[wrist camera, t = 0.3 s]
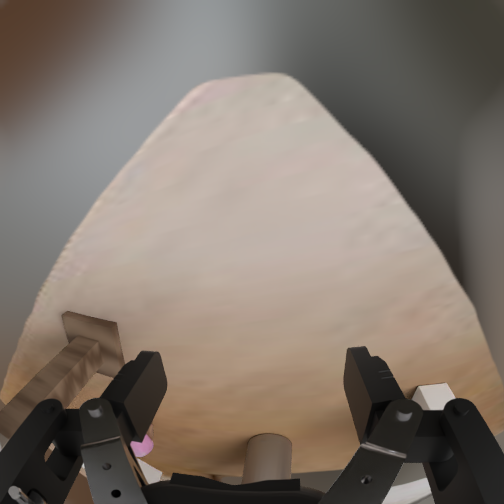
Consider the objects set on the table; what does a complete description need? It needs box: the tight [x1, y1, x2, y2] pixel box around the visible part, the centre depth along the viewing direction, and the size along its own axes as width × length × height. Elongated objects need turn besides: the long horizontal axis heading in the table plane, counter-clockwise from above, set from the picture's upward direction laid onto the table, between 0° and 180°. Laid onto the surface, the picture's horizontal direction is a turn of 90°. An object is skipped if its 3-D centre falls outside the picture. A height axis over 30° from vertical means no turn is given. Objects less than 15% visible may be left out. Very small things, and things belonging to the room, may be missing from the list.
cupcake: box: [130, 424, 154, 457], centre depth 48 cm, size 9×9×10 cm
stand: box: [0, 311, 125, 449], centre depth 33 cm, size 12×12×32 cm
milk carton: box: [412, 383, 456, 410], centre depth 35 cm, size 7×7×19 cm
